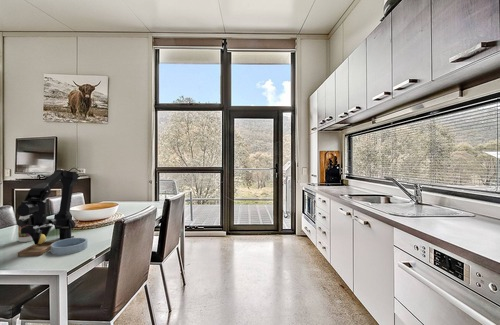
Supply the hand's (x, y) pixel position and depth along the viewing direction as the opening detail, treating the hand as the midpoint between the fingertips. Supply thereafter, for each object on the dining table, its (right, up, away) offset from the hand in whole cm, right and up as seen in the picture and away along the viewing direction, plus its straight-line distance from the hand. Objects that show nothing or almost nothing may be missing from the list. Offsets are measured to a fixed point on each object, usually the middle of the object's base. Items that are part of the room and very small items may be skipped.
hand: (39, 242), depth 135 cm
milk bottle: (-21, -4, +17) cm, 27 cm away
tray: (0, -4, 0) cm, 4 cm away
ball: (0, -1, 0) cm, 1 cm away
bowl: (+14, -5, +2) cm, 15 cm away
